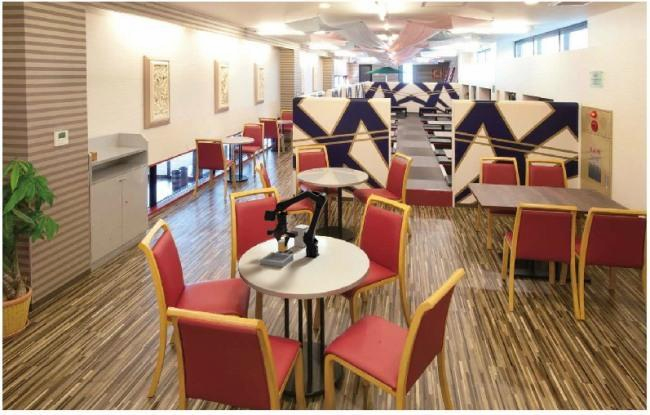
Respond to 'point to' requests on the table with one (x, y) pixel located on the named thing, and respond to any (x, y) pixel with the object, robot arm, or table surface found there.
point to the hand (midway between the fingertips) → (282, 246)
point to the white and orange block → (282, 245)
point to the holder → (285, 251)
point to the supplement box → (300, 235)
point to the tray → (276, 259)
